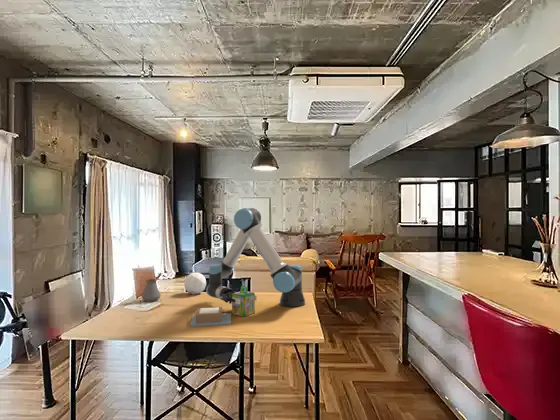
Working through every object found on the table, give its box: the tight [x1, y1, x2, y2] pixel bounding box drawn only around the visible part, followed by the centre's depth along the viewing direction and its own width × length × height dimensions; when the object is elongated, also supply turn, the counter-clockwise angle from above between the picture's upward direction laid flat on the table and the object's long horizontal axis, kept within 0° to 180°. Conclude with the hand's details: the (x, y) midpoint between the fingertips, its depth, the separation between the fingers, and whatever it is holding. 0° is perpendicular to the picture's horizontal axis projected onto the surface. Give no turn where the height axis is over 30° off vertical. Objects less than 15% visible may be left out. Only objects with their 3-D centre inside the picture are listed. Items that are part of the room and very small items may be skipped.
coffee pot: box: [141, 272, 163, 302], centre depth 254 cm, size 21×12×15 cm, turn 173°
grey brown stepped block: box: [189, 306, 232, 327], centre depth 203 cm, size 20×16×6 cm
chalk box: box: [231, 285, 256, 318], centre depth 215 cm, size 9×9×15 cm
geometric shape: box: [183, 271, 207, 295], centre depth 268 cm, size 14×15×15 cm
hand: (248, 300), depth 212 cm, fingers closed on chalk box, 10 cm apart
